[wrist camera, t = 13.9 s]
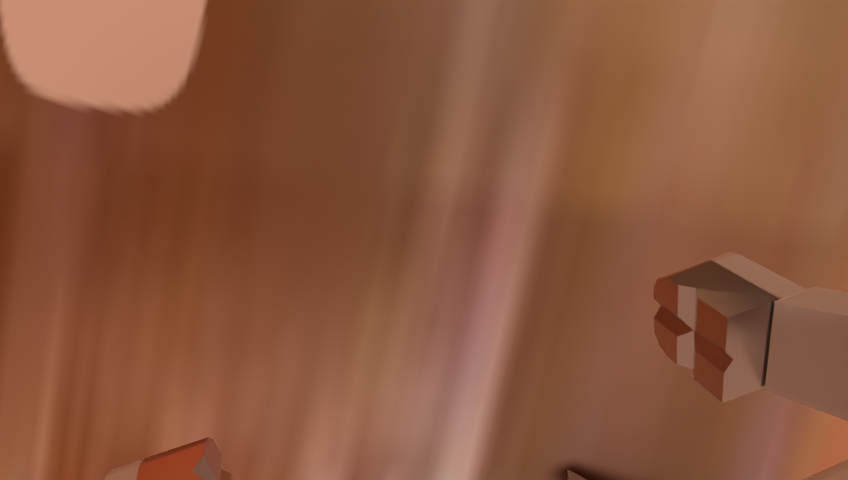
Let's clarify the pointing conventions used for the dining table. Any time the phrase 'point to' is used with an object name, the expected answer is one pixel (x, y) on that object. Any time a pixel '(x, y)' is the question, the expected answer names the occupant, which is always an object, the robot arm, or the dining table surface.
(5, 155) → the dining table surface
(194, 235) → the dining table surface
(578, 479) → the toy gun
